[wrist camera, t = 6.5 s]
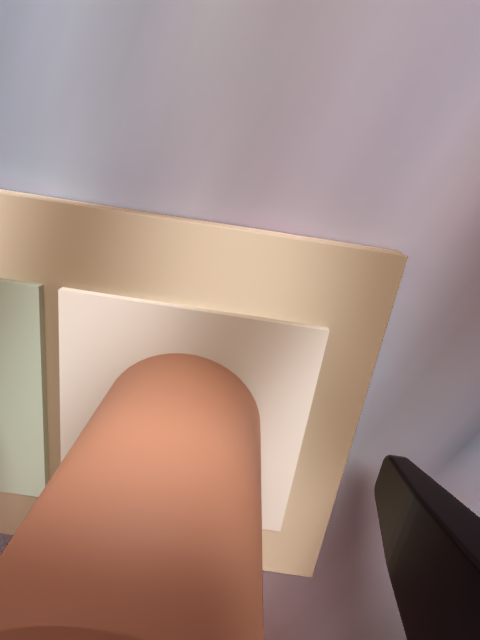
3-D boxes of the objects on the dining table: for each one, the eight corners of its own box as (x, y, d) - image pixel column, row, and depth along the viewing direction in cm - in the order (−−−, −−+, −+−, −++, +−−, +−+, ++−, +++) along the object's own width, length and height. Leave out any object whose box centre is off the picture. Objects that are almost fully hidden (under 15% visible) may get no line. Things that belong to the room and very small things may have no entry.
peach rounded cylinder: (273, 366, 9) (311, 832, 3) (247, 495, 10) (233, 1009, 4) (105, 341, 9) (-251, 758, 3) (101, 474, 10) (-143, 963, 4)
